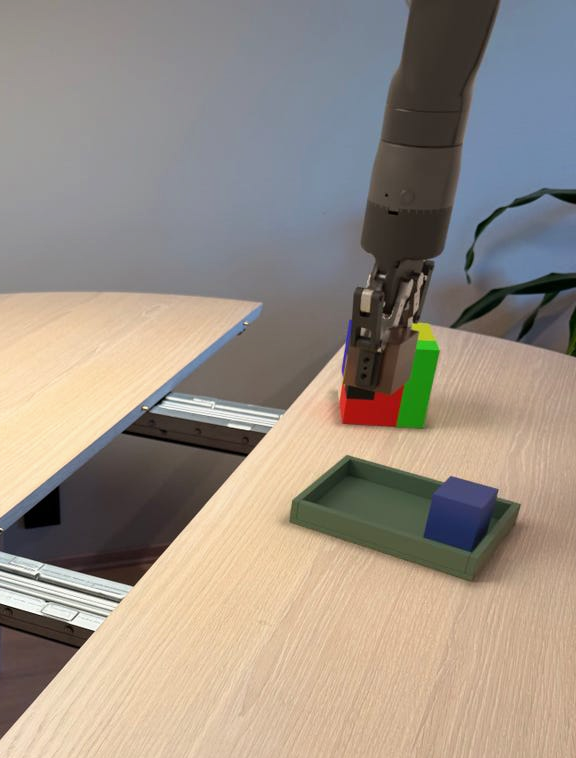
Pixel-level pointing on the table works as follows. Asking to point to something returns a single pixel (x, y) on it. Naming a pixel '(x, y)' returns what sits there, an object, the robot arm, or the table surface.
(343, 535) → the tray
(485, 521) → the blue cube
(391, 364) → the brown cube
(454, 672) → the table surface
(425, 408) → the puzzle toy
